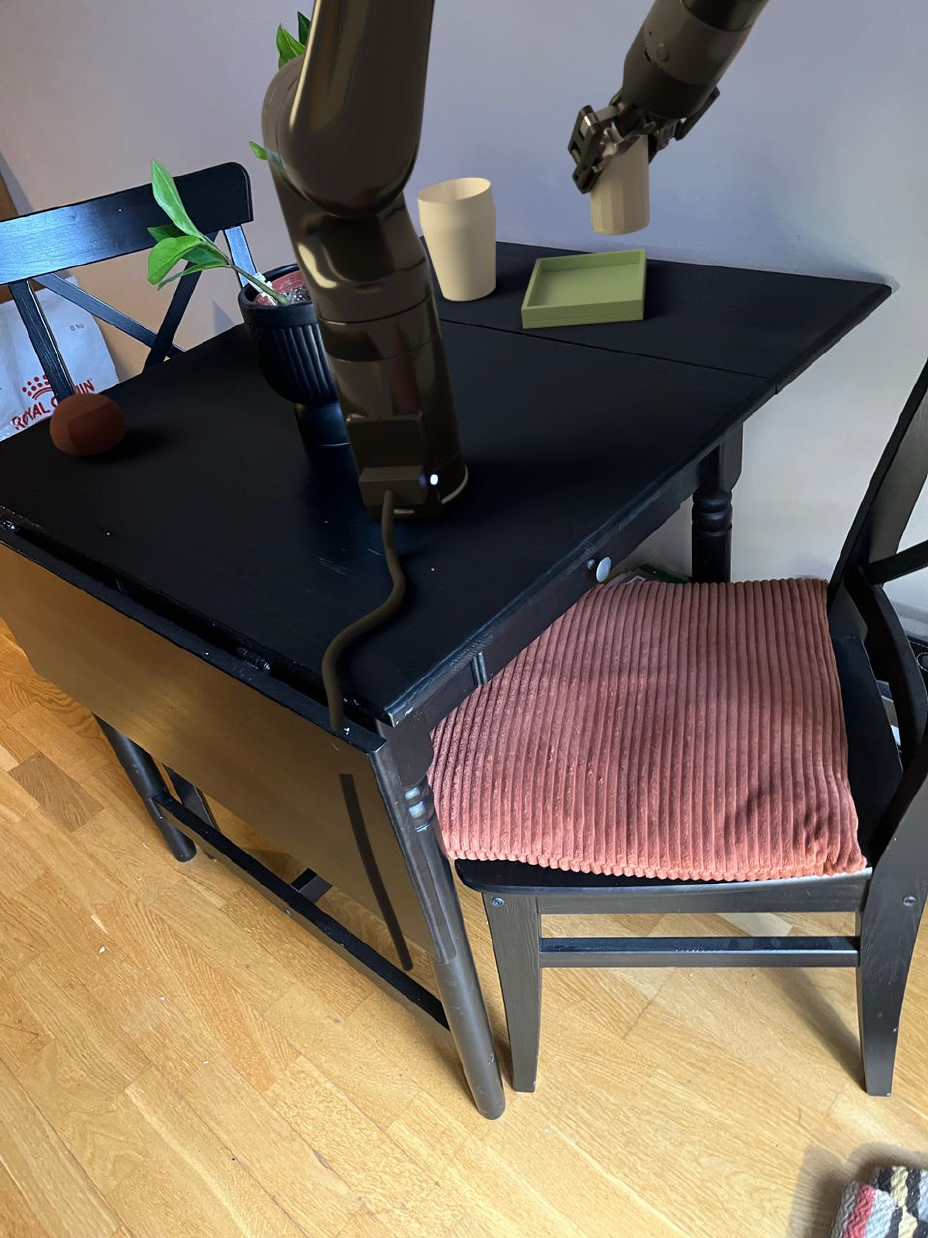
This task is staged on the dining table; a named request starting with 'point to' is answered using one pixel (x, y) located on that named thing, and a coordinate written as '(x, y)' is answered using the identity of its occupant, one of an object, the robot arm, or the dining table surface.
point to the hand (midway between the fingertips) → (607, 175)
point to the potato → (87, 424)
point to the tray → (586, 289)
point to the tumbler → (622, 191)
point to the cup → (461, 236)
